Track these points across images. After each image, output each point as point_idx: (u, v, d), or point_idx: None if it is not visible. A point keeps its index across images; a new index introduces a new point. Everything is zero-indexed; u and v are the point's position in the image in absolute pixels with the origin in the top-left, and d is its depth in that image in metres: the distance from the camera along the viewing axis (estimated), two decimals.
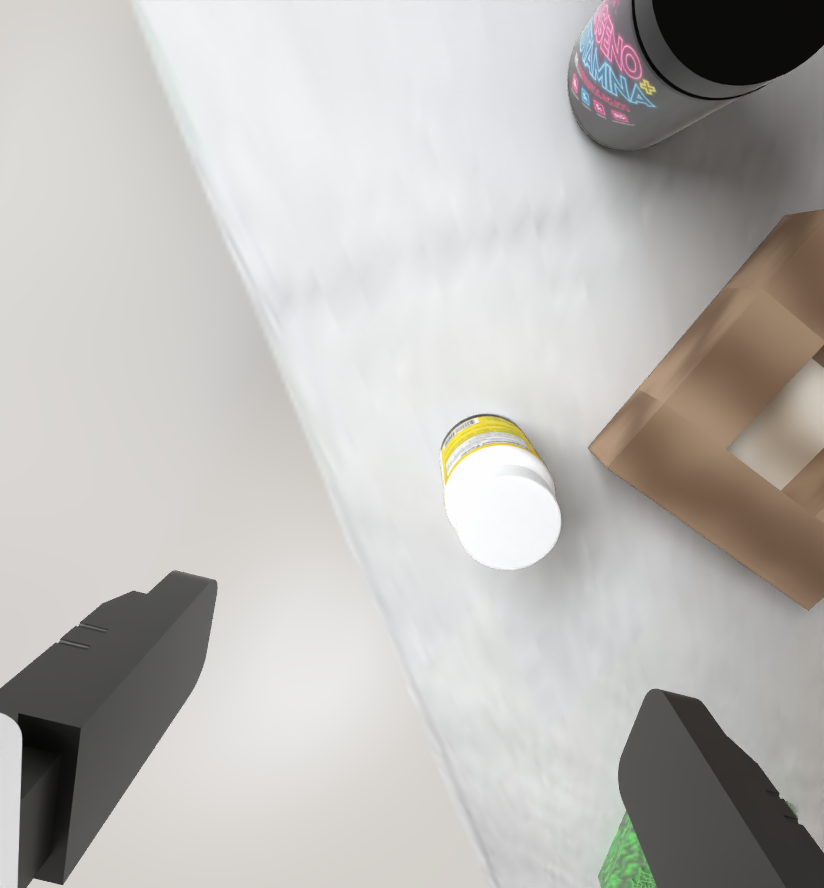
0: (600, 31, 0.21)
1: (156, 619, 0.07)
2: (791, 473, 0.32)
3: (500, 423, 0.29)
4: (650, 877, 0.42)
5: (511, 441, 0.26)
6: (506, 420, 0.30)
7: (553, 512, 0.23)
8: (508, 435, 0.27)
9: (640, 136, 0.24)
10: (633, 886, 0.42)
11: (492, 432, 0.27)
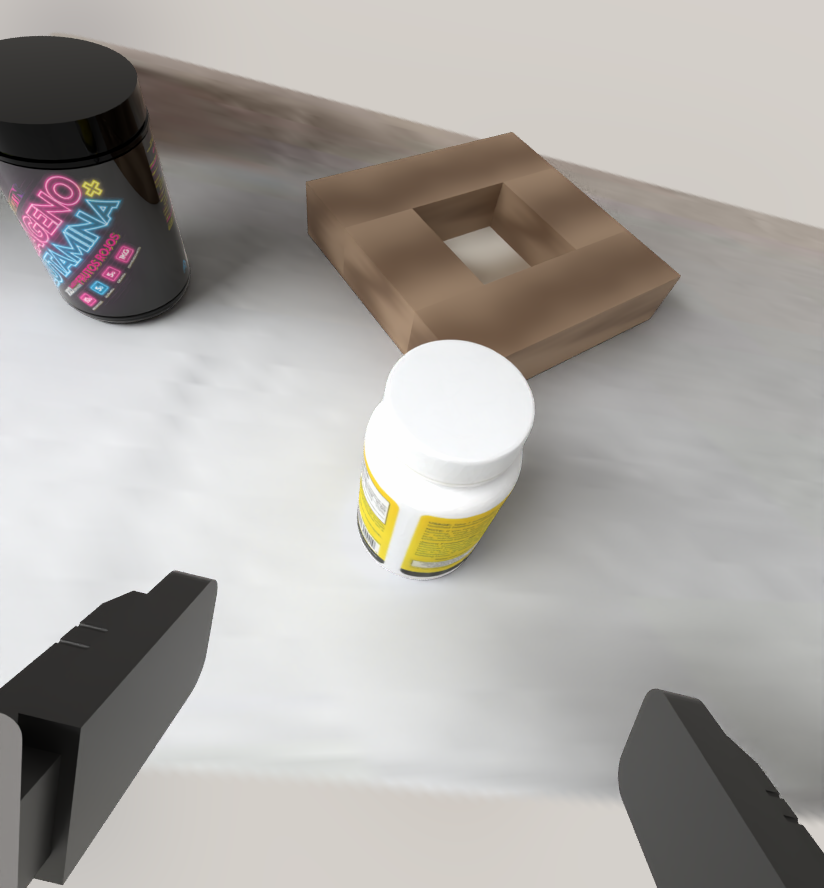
0: (39, 231, 0.23)
1: (156, 619, 0.07)
2: None
3: None
4: None
5: None
6: None
7: (460, 345, 0.17)
8: None
9: (159, 259, 0.26)
10: None
11: None
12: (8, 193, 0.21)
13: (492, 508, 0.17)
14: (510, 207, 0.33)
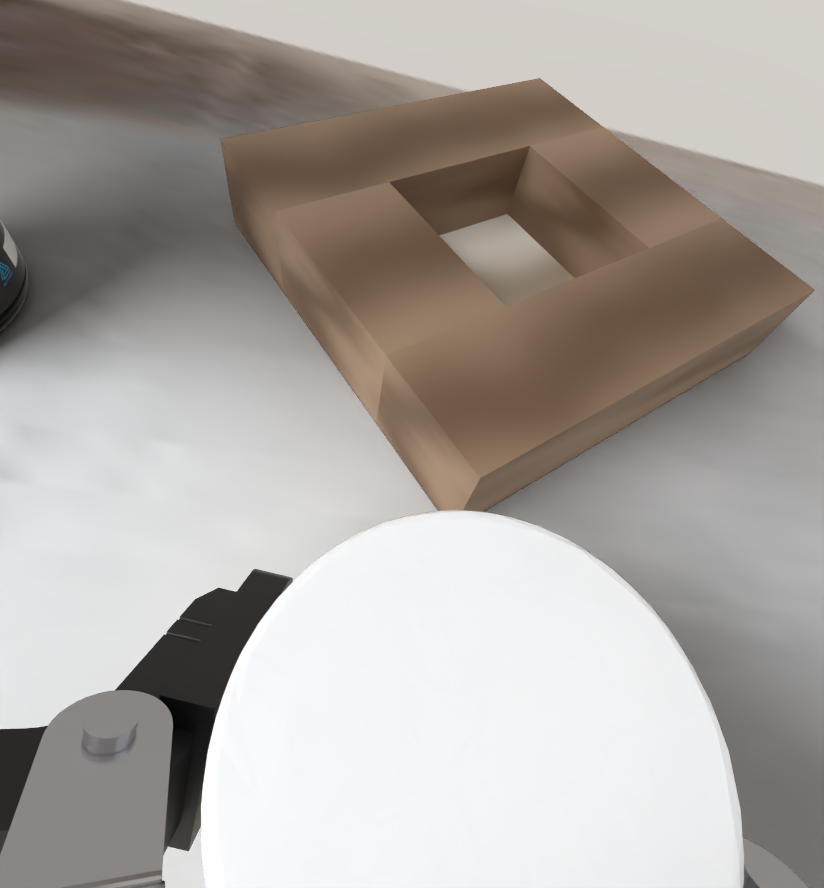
0: None
1: (252, 613, 0.08)
2: None
3: None
4: None
5: None
6: None
7: (478, 534, 0.05)
8: None
9: None
10: None
11: None
12: None
13: None
14: (540, 184, 0.22)
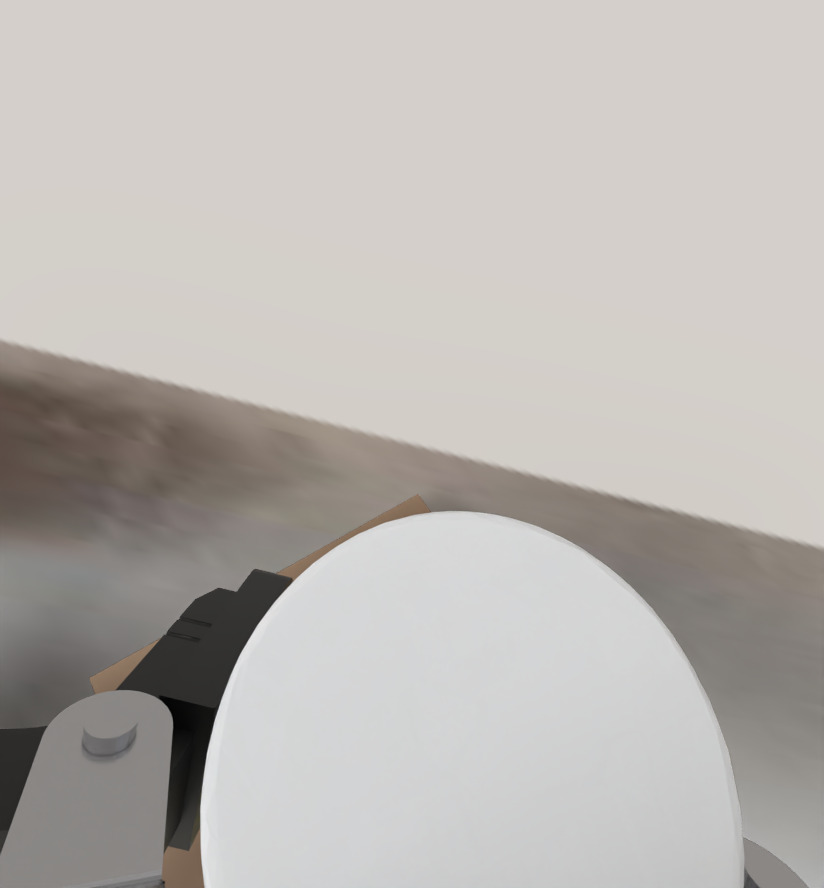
0: None
1: (252, 613, 0.08)
2: None
3: None
4: None
5: None
6: None
7: (478, 535, 0.05)
8: None
9: None
10: None
11: None
12: None
13: None
14: None
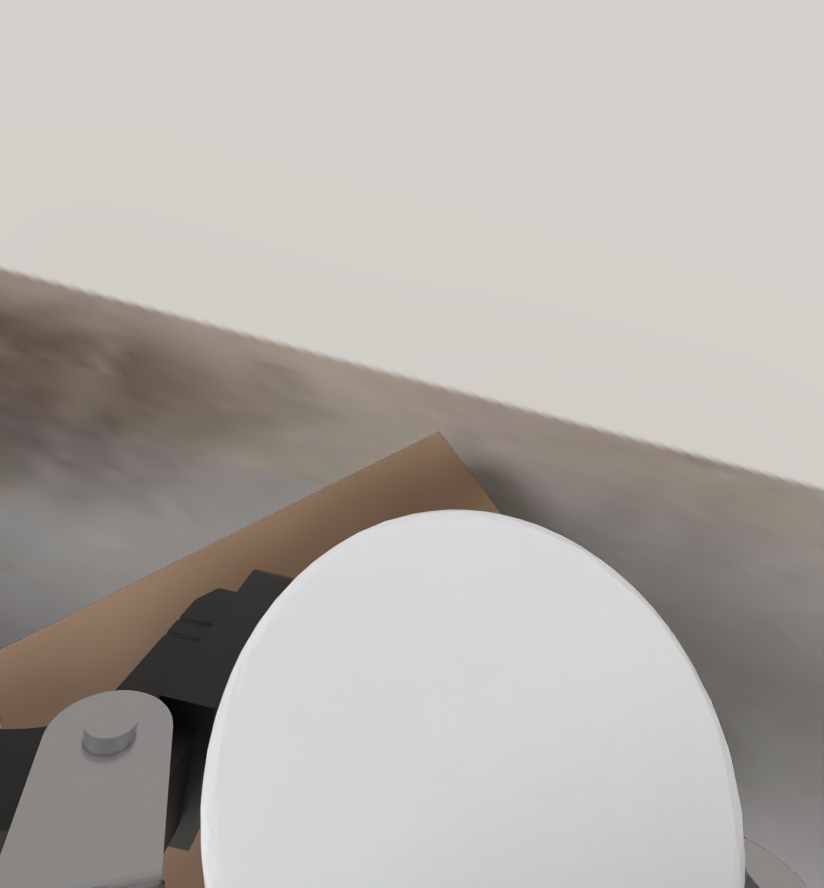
0: None
1: (252, 613, 0.08)
2: None
3: None
4: None
5: None
6: None
7: (478, 534, 0.05)
8: None
9: None
10: None
11: None
12: None
13: None
14: None
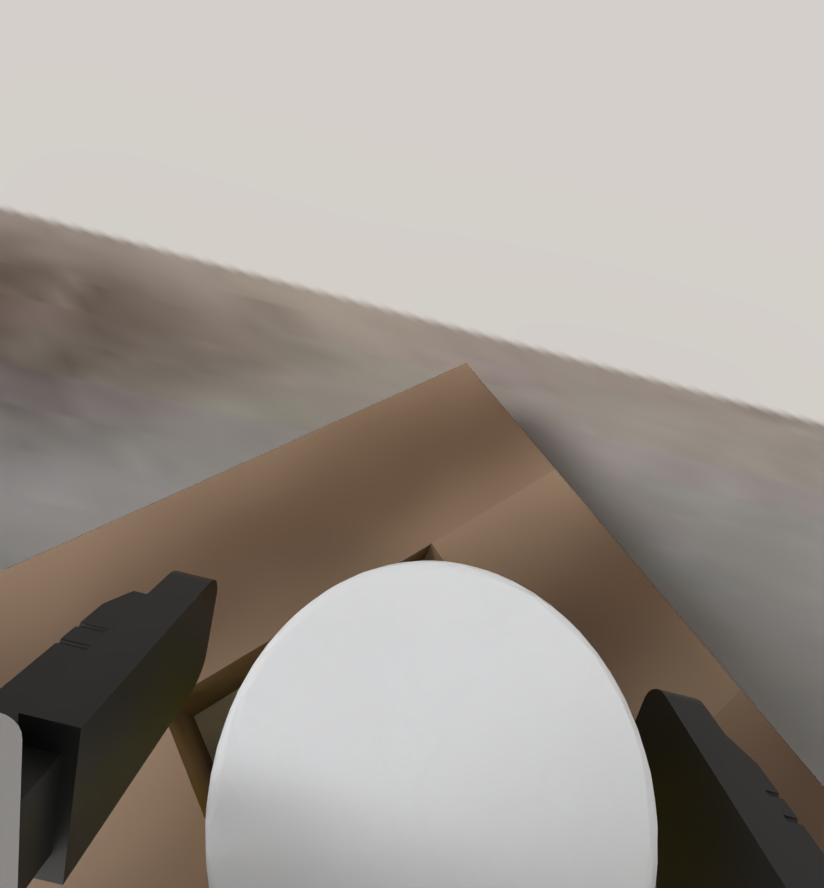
0: None
1: (156, 619, 0.07)
2: None
3: None
4: None
5: None
6: None
7: (444, 583, 0.06)
8: None
9: None
10: None
11: None
12: None
13: None
14: None
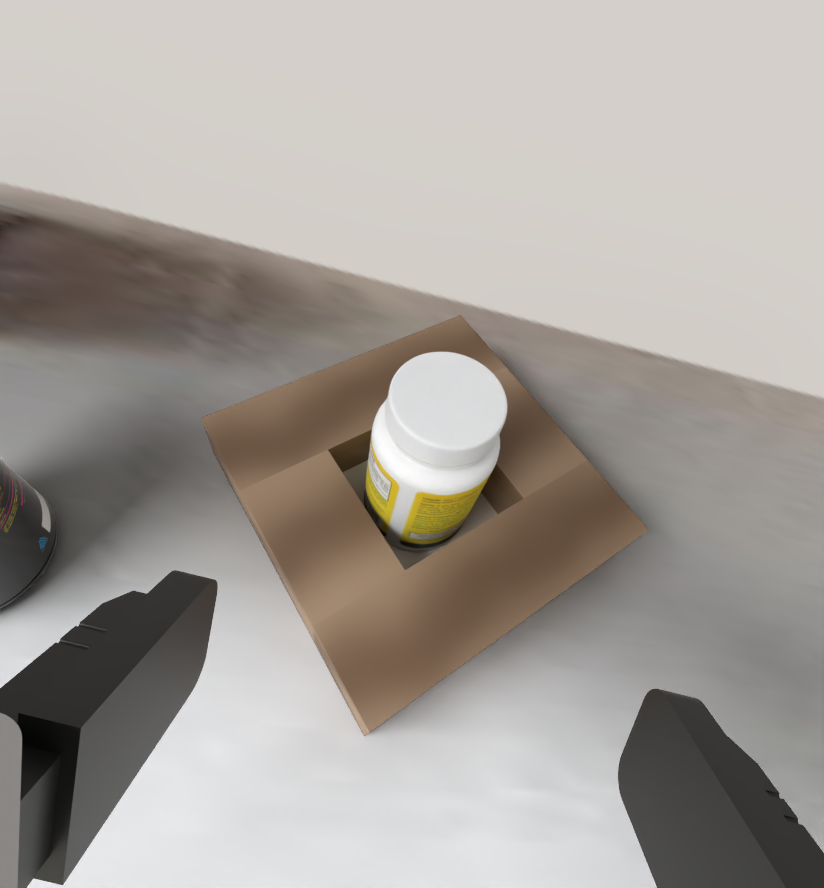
0: None
1: (156, 619, 0.07)
2: (483, 505, 0.29)
3: None
4: None
5: None
6: None
7: (449, 356, 0.21)
8: None
9: None
10: None
11: None
12: None
13: (474, 487, 0.21)
14: None
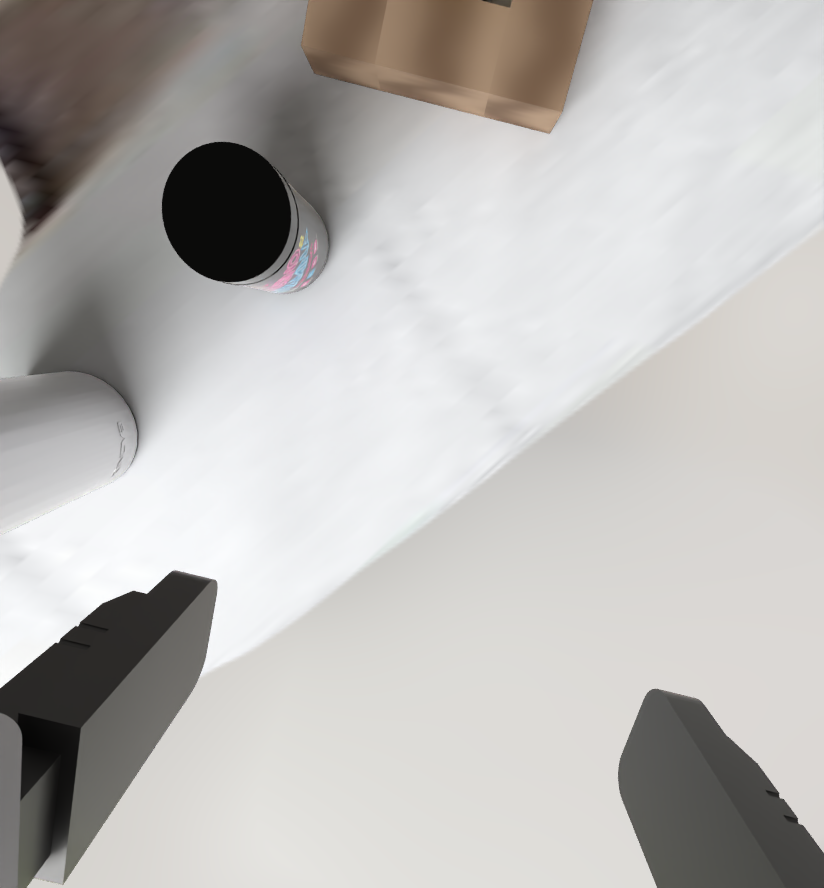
0: (280, 284, 0.32)
1: (156, 619, 0.07)
2: None
3: None
4: None
5: None
6: None
7: None
8: None
9: (318, 224, 0.33)
10: None
11: None
12: (261, 286, 0.30)
13: None
14: None
